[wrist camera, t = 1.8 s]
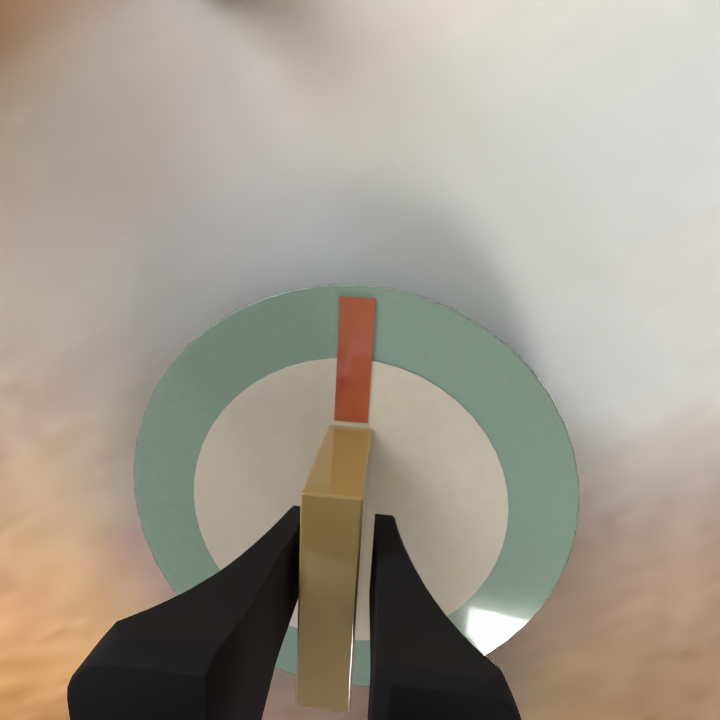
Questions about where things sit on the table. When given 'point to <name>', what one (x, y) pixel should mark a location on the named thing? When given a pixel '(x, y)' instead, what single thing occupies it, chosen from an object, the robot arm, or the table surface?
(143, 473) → the dial knob
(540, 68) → the table surface
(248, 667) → the robot arm
